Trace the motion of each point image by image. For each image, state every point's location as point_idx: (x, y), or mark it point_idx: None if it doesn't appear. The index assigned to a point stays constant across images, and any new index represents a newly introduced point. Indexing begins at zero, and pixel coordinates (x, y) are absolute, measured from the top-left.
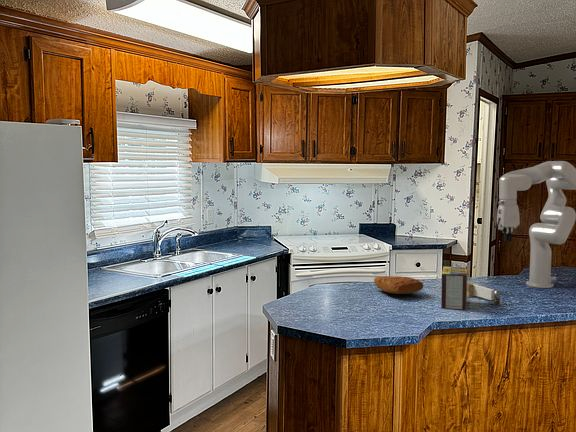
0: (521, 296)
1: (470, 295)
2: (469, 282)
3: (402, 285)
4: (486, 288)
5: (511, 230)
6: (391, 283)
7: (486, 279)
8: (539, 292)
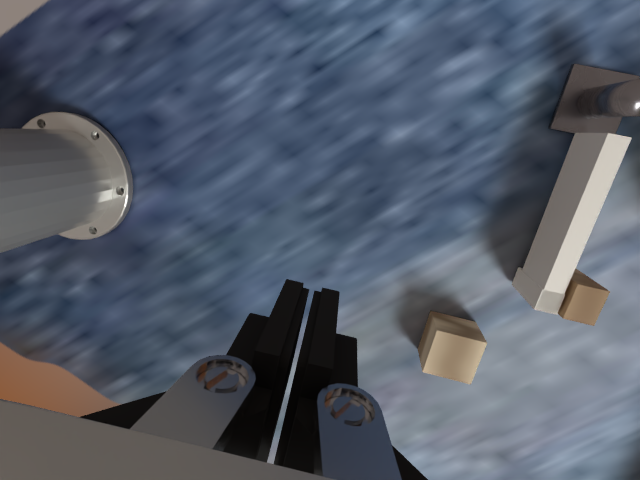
0: (342, 110)
1: None
2: (436, 356)
3: None
4: (597, 188)
5: (220, 401)
6: None
7: None
8: (195, 98)
